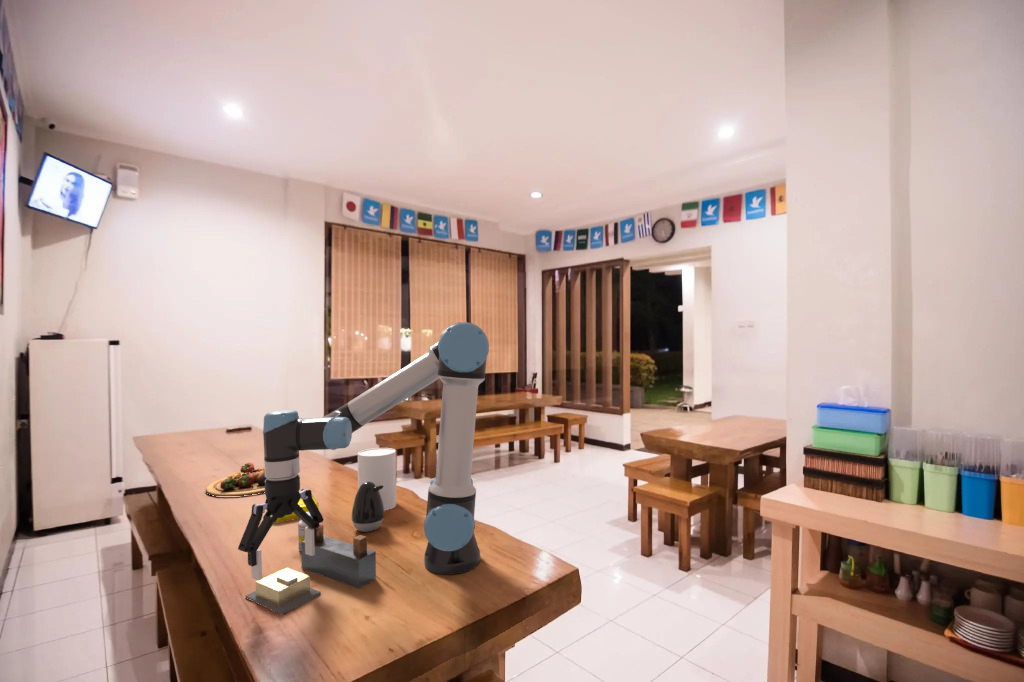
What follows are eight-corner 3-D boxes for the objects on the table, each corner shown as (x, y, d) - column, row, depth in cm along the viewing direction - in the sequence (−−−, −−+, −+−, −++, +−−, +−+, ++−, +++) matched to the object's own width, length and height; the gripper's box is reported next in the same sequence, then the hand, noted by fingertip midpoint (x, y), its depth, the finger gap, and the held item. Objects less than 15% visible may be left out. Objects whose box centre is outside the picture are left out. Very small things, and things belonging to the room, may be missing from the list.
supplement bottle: (321, 544, 141) (321, 509, 141) (315, 552, 136) (315, 516, 136) (302, 545, 141) (302, 510, 141) (295, 553, 135) (295, 517, 135)
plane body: (375, 579, 120) (375, 535, 120) (358, 588, 115) (358, 543, 115) (319, 559, 131) (319, 519, 131) (301, 567, 126) (301, 526, 126)
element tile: (272, 525, 158) (272, 510, 158) (266, 512, 171) (266, 498, 171) (319, 515, 166) (319, 501, 166) (311, 503, 179) (311, 491, 179)
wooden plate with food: (218, 480, 212) (218, 461, 212) (296, 472, 222) (295, 455, 222) (194, 504, 182) (193, 483, 182) (285, 494, 191) (284, 474, 191)
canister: (398, 509, 171) (398, 453, 171) (359, 514, 166) (358, 457, 166) (393, 498, 183) (393, 446, 183) (356, 502, 178) (356, 449, 178)
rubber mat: (320, 594, 113) (320, 591, 113) (281, 615, 104) (281, 612, 104) (284, 579, 120) (284, 577, 120) (245, 598, 111) (245, 595, 111)
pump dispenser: (375, 536, 147) (375, 487, 147) (345, 534, 149) (344, 485, 149) (390, 524, 157) (390, 478, 157) (361, 522, 159) (361, 476, 159)
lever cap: (310, 590, 113) (310, 572, 113) (278, 606, 106) (278, 587, 106) (287, 581, 118) (286, 564, 118) (255, 596, 111) (255, 578, 111)
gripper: (317, 462, 125) (319, 542, 125) (219, 488, 103) (221, 586, 103) (336, 465, 121) (338, 548, 121) (238, 493, 100) (240, 594, 99)
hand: (284, 566), depth 112 cm, fingers open, 13 cm apart
